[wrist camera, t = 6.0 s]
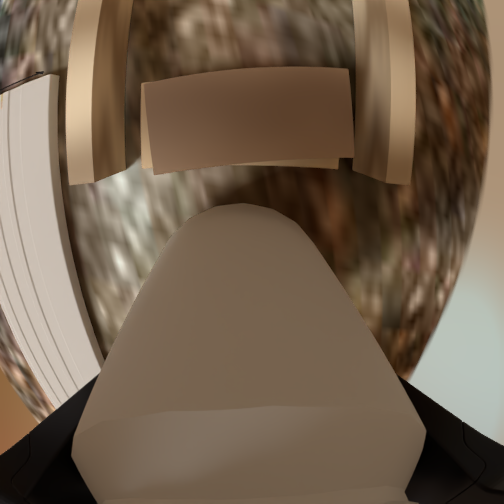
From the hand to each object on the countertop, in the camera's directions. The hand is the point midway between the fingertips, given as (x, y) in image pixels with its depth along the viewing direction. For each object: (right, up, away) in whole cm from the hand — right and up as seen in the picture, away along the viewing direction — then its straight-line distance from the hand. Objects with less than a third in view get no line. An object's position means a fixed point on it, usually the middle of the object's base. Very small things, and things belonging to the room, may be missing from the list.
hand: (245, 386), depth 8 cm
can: (0, +3, +6) cm, 7 cm away
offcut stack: (0, +10, +5) cm, 11 cm away
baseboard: (-15, -1, +9) cm, 18 cm away
